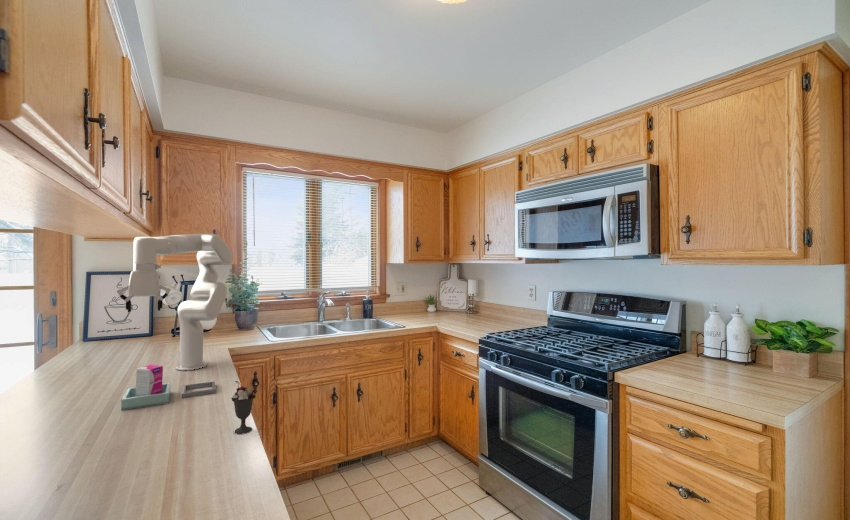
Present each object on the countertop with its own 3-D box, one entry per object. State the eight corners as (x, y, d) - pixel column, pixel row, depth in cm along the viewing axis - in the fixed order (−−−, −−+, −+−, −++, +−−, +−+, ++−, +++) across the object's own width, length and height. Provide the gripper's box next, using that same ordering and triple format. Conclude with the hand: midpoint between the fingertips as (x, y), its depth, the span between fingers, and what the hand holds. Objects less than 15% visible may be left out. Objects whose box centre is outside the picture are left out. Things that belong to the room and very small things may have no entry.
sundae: (226, 430, 116) (227, 380, 116) (249, 424, 120) (250, 375, 121) (235, 437, 111) (236, 385, 111) (258, 430, 116) (259, 380, 116)
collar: (182, 389, 152) (182, 385, 152) (214, 385, 157) (214, 381, 157) (181, 397, 142) (181, 393, 142) (215, 393, 148) (215, 389, 148)
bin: (127, 398, 142) (127, 388, 142) (170, 392, 148) (170, 382, 148) (121, 410, 130) (121, 399, 130) (168, 403, 137) (168, 393, 137)
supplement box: (148, 402, 136) (149, 369, 136) (134, 400, 137) (135, 368, 137) (162, 396, 142) (163, 365, 142) (149, 395, 143) (149, 364, 143)
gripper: (171, 267, 162) (171, 308, 162) (119, 267, 153) (118, 311, 153) (170, 268, 155) (169, 310, 155) (115, 268, 147) (115, 313, 147)
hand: (144, 310), depth 154 cm, fingers open, 9 cm apart
